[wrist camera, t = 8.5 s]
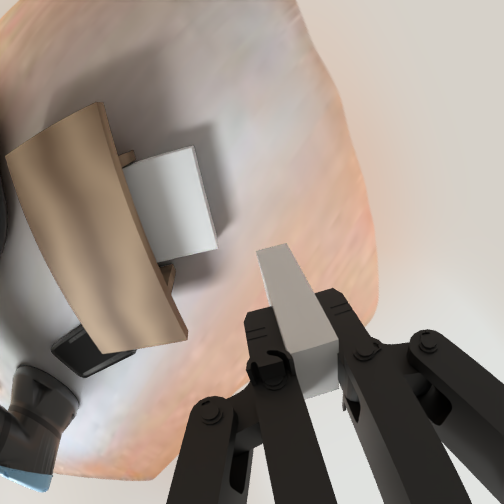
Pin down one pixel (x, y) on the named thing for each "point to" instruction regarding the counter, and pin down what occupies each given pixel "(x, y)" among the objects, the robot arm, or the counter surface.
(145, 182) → the plastic case
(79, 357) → the phone
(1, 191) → the casserole
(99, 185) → the low shelf
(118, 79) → the counter surface
